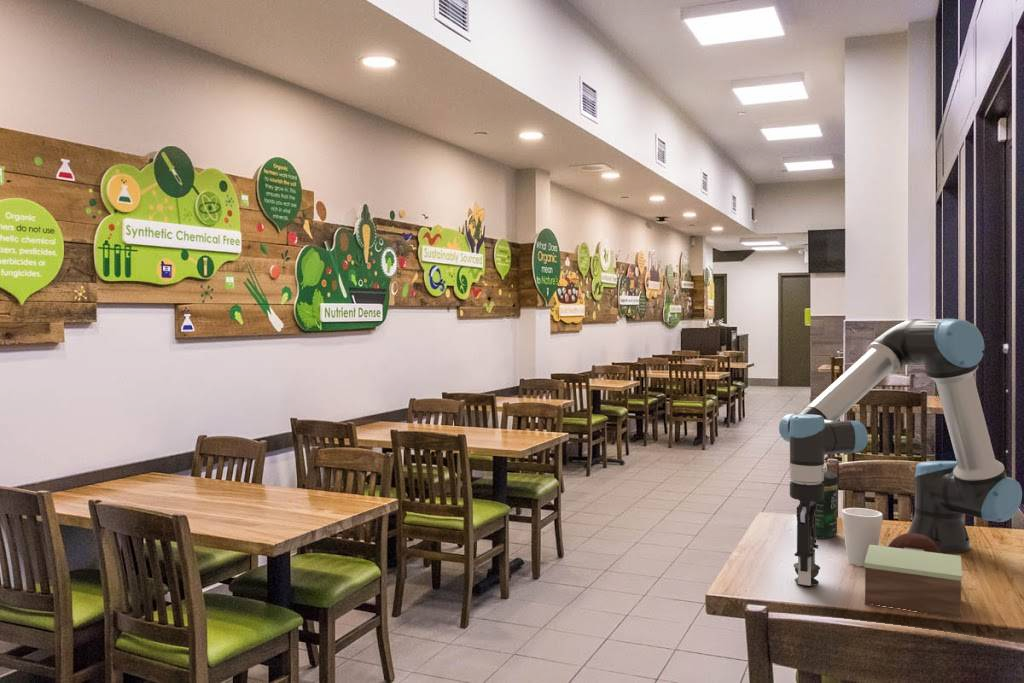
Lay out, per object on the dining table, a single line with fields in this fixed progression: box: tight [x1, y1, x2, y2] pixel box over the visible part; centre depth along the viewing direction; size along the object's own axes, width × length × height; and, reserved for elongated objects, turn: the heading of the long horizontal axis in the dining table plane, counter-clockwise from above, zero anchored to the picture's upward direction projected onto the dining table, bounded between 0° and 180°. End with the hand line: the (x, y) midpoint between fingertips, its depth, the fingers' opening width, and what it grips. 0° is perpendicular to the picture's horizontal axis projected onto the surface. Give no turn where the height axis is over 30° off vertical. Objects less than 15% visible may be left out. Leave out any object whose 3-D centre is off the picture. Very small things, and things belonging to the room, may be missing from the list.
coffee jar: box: [814, 470, 839, 539], centre depth 224 cm, size 10×8×19 cm
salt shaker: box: [793, 536, 821, 586], centre depth 182 cm, size 6×6×12 cm
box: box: [864, 567, 962, 620], centre depth 171 cm, size 14×18×8 cm
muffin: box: [887, 532, 943, 554], centre depth 188 cm, size 12×11×10 cm
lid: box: [863, 545, 963, 582], centre depth 172 cm, size 15×18×2 cm
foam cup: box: [841, 507, 884, 567], centre depth 198 cm, size 10×9×13 cm
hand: (806, 579), depth 182 cm, fingers closed on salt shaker, 6 cm apart
